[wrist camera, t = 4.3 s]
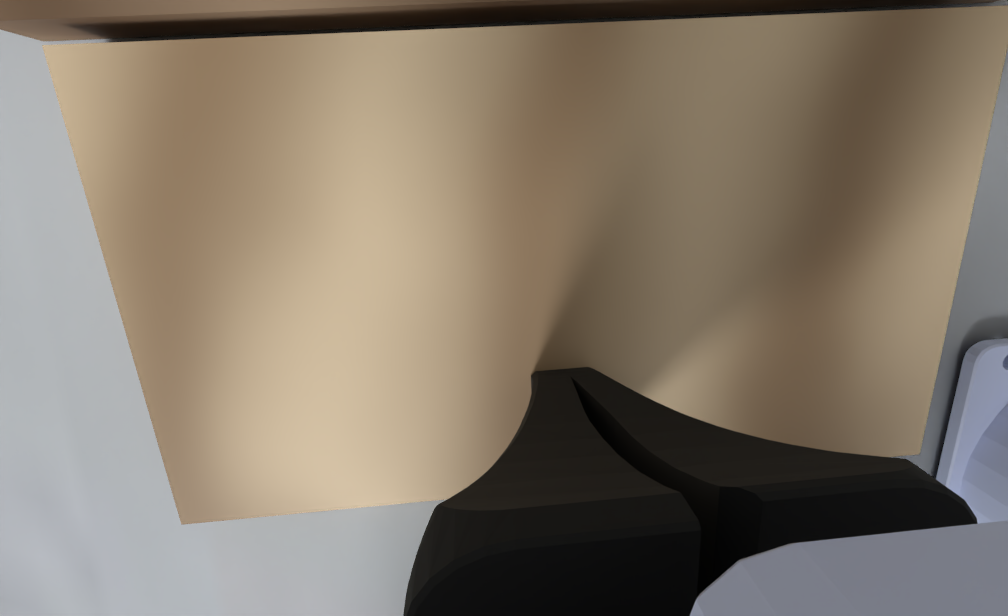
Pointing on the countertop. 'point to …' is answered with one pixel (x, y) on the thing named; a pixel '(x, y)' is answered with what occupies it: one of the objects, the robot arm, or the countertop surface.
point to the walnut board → (353, 14)
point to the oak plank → (526, 235)
